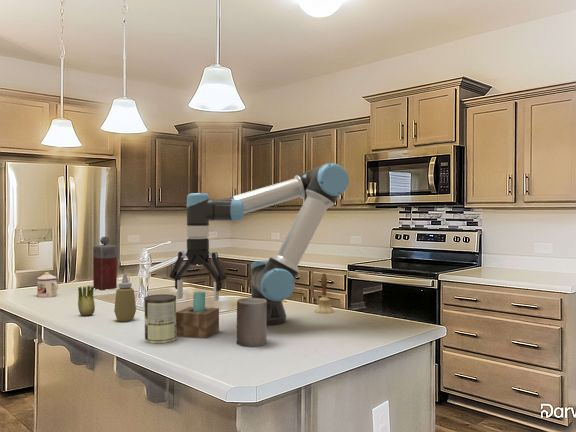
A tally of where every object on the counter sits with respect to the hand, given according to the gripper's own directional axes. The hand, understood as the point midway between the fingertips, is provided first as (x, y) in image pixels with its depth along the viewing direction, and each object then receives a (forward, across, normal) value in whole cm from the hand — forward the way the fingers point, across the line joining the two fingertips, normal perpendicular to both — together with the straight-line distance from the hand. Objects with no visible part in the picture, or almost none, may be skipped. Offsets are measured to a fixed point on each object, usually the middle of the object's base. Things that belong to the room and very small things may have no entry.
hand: (197, 299), depth 179 cm
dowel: (+12, 0, 0) cm, 12 cm away
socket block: (+12, 0, 0) cm, 12 cm away
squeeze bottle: (+12, +36, -12) cm, 40 cm away
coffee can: (+12, +8, +11) cm, 18 cm away
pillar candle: (+12, -22, +7) cm, 26 cm away
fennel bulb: (+12, +56, -16) cm, 59 cm away
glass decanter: (+12, +92, -80) cm, 122 cm away
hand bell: (+12, -35, -49) cm, 61 cm away
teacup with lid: (+12, +103, -51) cm, 116 cm away
